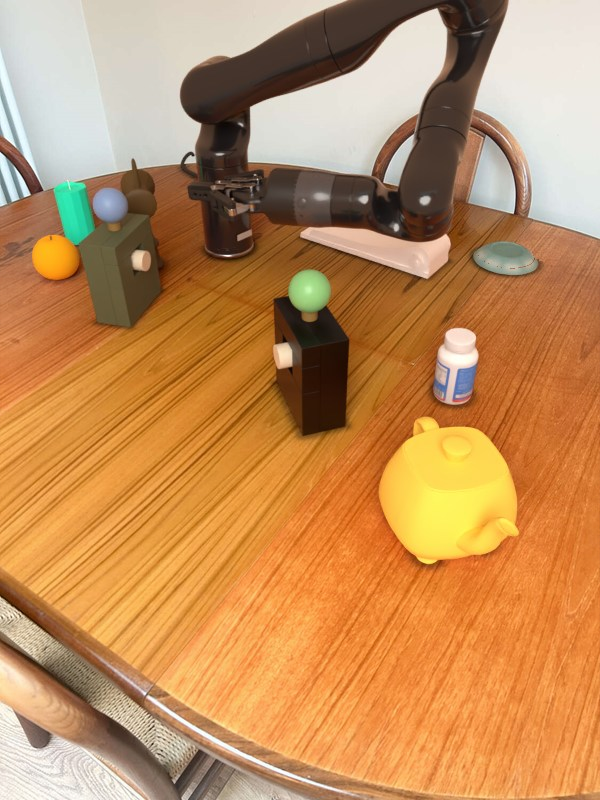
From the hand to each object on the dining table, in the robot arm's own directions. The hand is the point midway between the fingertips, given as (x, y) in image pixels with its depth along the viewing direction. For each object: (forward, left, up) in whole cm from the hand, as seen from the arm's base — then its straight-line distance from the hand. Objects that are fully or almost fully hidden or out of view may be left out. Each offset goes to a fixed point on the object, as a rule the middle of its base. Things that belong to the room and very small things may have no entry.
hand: (190, 190), depth 94 cm
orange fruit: (-15, -28, -22) cm, 38 cm away
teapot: (+45, +32, -22) cm, 59 cm away
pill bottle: (+20, +37, -22) cm, 47 cm away
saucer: (-19, +54, -19) cm, 60 cm away
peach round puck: (-3, -10, -14) cm, 18 cm away
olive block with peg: (-4, -13, -22) cm, 25 cm away
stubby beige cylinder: (+23, +14, -14) cm, 31 cm away
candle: (-30, -28, -22) cm, 46 cm away
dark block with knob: (+22, +17, -22) cm, 35 cm away
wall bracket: (-24, +29, -17) cm, 42 cm away
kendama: (-18, -12, -22) cm, 31 cm away
